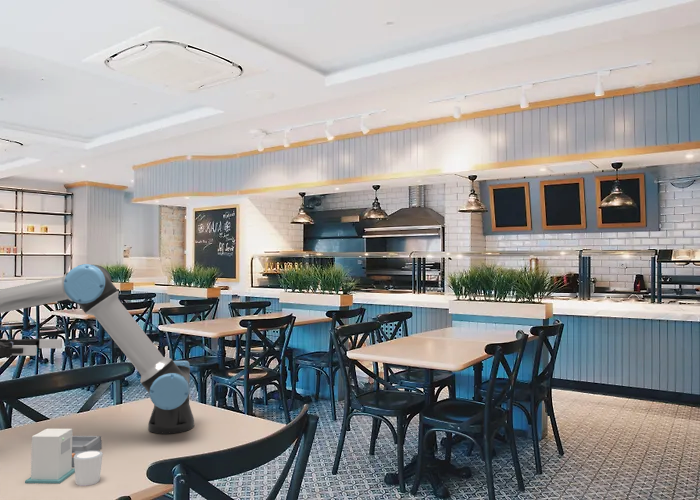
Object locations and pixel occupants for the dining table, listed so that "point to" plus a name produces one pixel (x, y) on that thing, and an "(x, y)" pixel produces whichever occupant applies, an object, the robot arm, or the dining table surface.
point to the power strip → (85, 444)
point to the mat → (51, 480)
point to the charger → (51, 454)
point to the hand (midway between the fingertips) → (49, 347)
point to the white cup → (87, 467)
